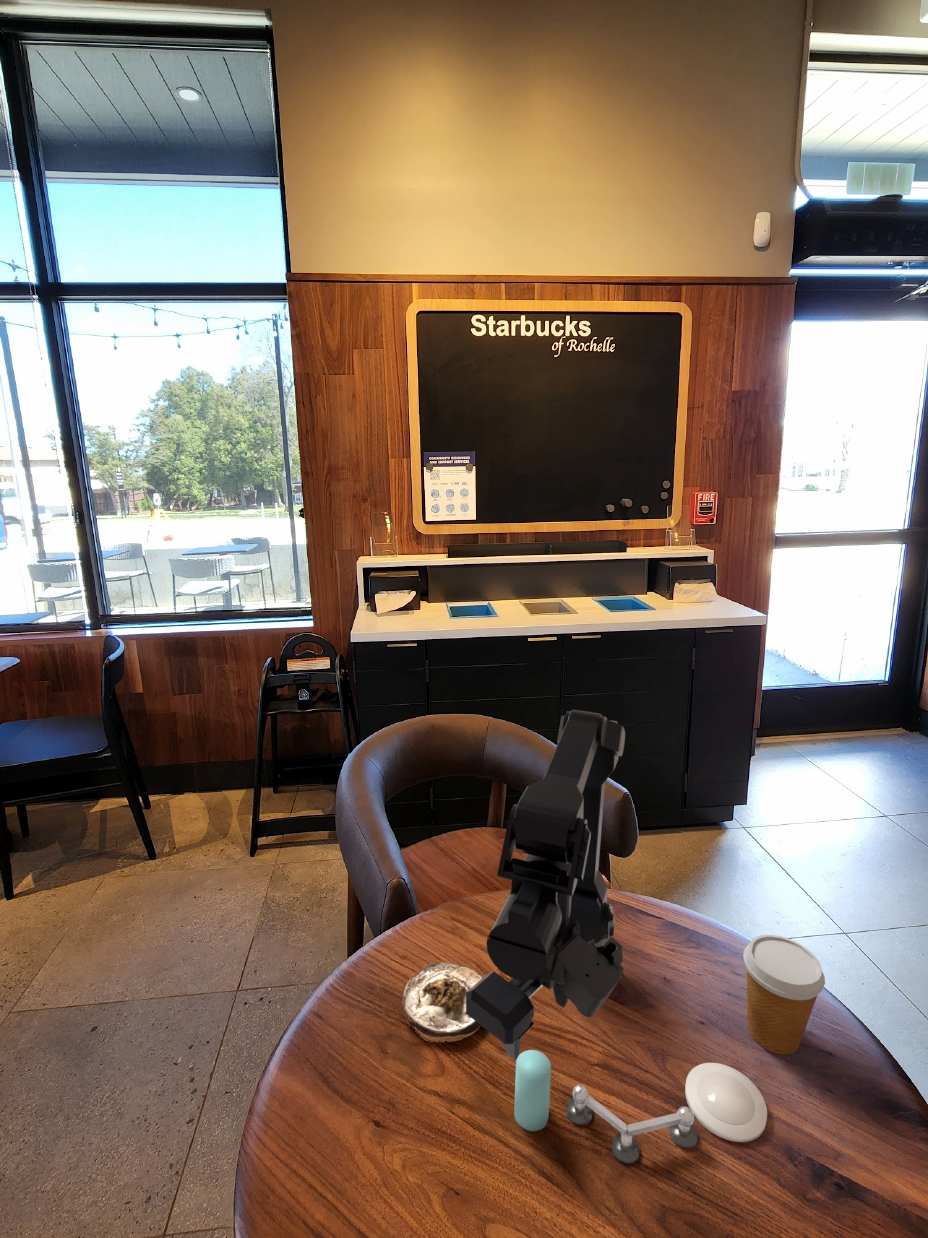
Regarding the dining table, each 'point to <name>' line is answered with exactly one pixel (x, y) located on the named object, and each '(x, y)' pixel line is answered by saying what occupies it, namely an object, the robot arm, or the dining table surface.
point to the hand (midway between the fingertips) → (537, 1029)
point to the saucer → (726, 1102)
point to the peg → (532, 1090)
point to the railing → (631, 1125)
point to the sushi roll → (440, 1002)
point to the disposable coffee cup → (780, 991)
